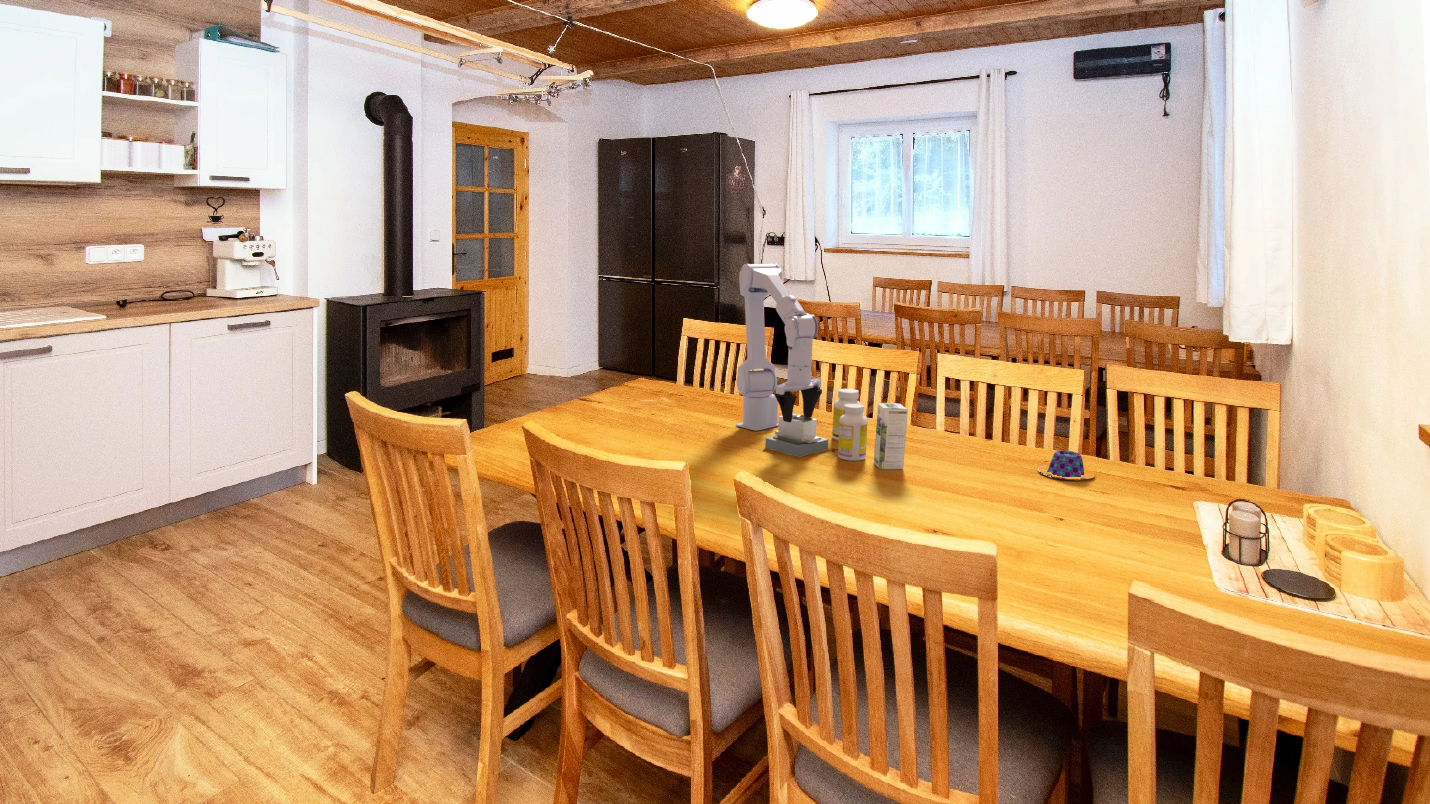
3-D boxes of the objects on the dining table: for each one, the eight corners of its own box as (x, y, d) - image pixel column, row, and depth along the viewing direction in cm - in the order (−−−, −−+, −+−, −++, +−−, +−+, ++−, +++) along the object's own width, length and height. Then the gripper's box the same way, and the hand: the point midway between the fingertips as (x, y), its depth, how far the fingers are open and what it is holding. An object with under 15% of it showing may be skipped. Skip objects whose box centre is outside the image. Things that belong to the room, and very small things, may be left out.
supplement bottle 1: (841, 443, 214) (844, 394, 211) (826, 436, 220) (829, 388, 218) (865, 440, 217) (867, 392, 214) (849, 434, 223) (852, 386, 221)
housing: (787, 431, 214) (787, 410, 213) (820, 440, 206) (821, 418, 205) (773, 434, 211) (774, 413, 210) (807, 443, 203) (808, 421, 201)
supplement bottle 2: (862, 453, 205) (865, 402, 202) (868, 461, 198) (871, 408, 196) (835, 453, 205) (837, 402, 202) (840, 461, 198) (842, 408, 195)
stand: (794, 440, 216) (795, 429, 216) (828, 449, 209) (828, 438, 208) (765, 447, 209) (765, 436, 208) (798, 457, 201) (799, 445, 201)
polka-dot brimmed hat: (1032, 466, 198) (1034, 444, 197) (1086, 469, 196) (1089, 447, 195) (1043, 481, 186) (1045, 459, 185) (1100, 485, 184) (1103, 462, 183)
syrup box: (872, 462, 198) (876, 402, 194) (897, 462, 198) (901, 402, 195) (879, 470, 192) (883, 408, 189) (904, 469, 193) (908, 408, 189)
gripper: (792, 370, 197) (790, 426, 200) (831, 363, 206) (829, 417, 209) (770, 366, 202) (768, 421, 205) (809, 359, 211) (807, 412, 214)
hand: (797, 419), depth 207 cm, fingers open, 7 cm apart
